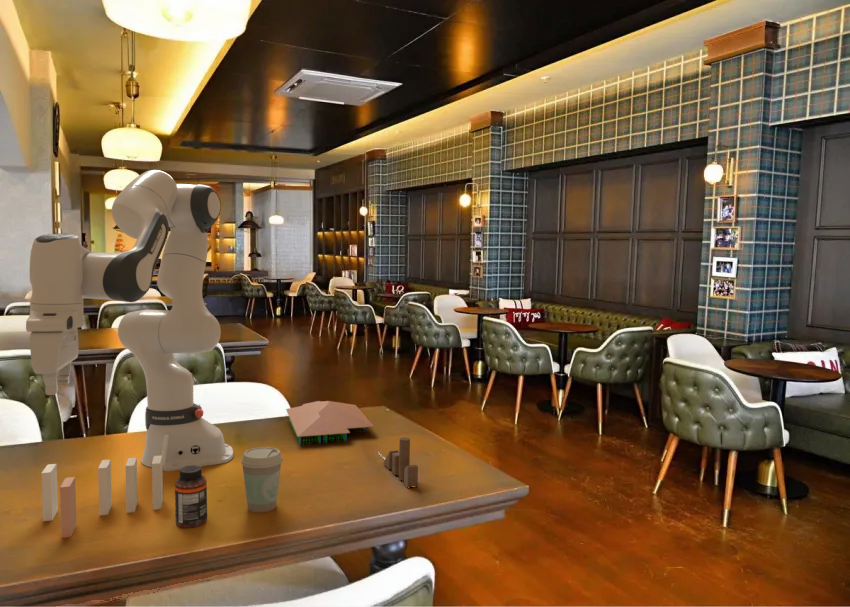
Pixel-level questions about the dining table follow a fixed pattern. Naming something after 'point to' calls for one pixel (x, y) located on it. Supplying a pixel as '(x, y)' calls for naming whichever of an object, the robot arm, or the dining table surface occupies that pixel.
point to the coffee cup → (261, 477)
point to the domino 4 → (157, 482)
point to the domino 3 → (131, 485)
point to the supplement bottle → (191, 497)
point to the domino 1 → (68, 507)
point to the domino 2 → (104, 487)
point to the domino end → (49, 492)
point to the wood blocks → (402, 463)
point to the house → (325, 420)
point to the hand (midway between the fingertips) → (58, 389)
